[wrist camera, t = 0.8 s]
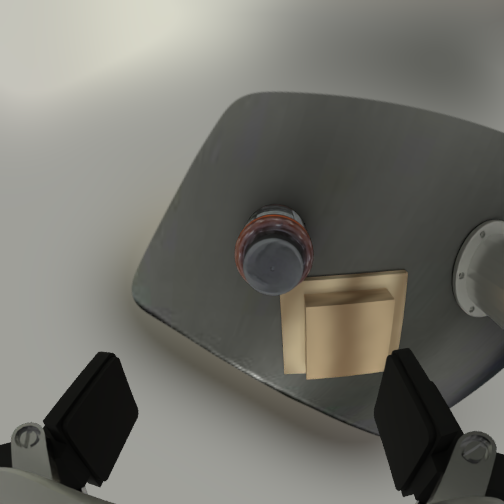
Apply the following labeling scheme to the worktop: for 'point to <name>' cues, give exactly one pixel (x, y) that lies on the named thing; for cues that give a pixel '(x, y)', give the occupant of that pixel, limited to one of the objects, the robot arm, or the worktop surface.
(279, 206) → the supplement bottle
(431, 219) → the worktop surface
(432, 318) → the worktop surface
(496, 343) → the worktop surface
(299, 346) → the oak base
